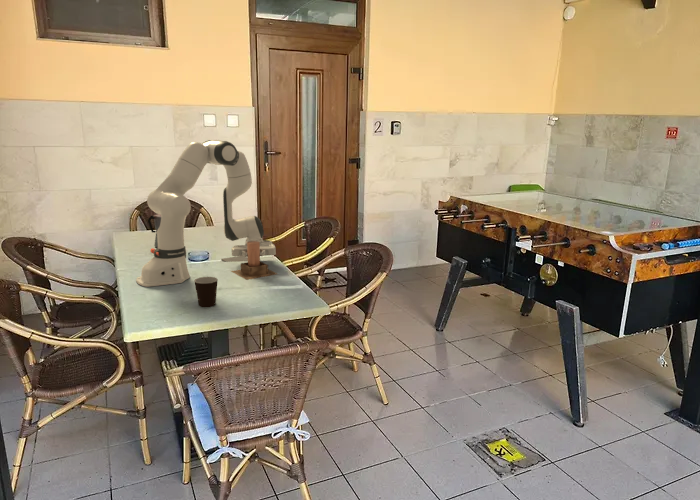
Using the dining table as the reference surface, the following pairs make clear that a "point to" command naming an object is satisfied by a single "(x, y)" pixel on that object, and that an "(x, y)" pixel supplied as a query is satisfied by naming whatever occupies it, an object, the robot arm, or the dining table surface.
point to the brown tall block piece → (253, 253)
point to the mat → (235, 259)
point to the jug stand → (254, 271)
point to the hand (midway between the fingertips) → (253, 254)
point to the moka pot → (157, 224)
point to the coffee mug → (206, 291)
